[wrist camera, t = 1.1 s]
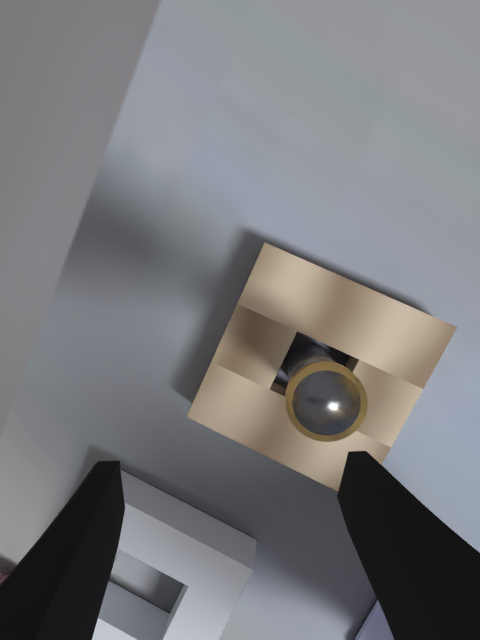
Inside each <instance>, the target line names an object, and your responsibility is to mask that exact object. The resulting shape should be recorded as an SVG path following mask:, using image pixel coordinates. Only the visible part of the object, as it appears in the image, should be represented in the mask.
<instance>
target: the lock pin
mask: <svg viewBox="0 0 480 640" xmlns="http://www.w3.org/2000/svg"><path fill="white" fill-rule="evenodd" d="M287 369H288V376H289V383H288V385H287V389H286V394H285V403H286V411H287V414H288V417H289V419H290V421H291V422H292V424H293V425H294V427H295V428H296V429H297V430H298V431H299V432H300V433H302V434H303V435H305V436H306V437H308V438H311V439H313V440H316V441H321V442H334V441H338V440H342V439H344V438H346V437H348V436H350V435H351V434H353V433H354V432H355V431H356V430H357V429H358V428H359V427H360V426H361V424H362V423H363V421H364V419H365V416H366V413H367V407H368V400H367V394H366V391H365V389H364V386H363V385H362V383H361V381H360V380H359V379H358V378H357V377H356V376H355V375H354V373H352V372H351V371H350V370H349V369H348V368H346V367H344V366H343V365H341V364H338V363H336V362H335V361H334V360H333V359H332V357H331V356H330V355H329V354H328V353H327V352H326V351H325V350H324V349H323V348H321V347H319V346H315V345H305V346H302V347H299V348H298V349H296V350H295V351H294V352H293V353H292V354H291V356H290V357H289V360H288V365H287Z"/></svg>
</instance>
